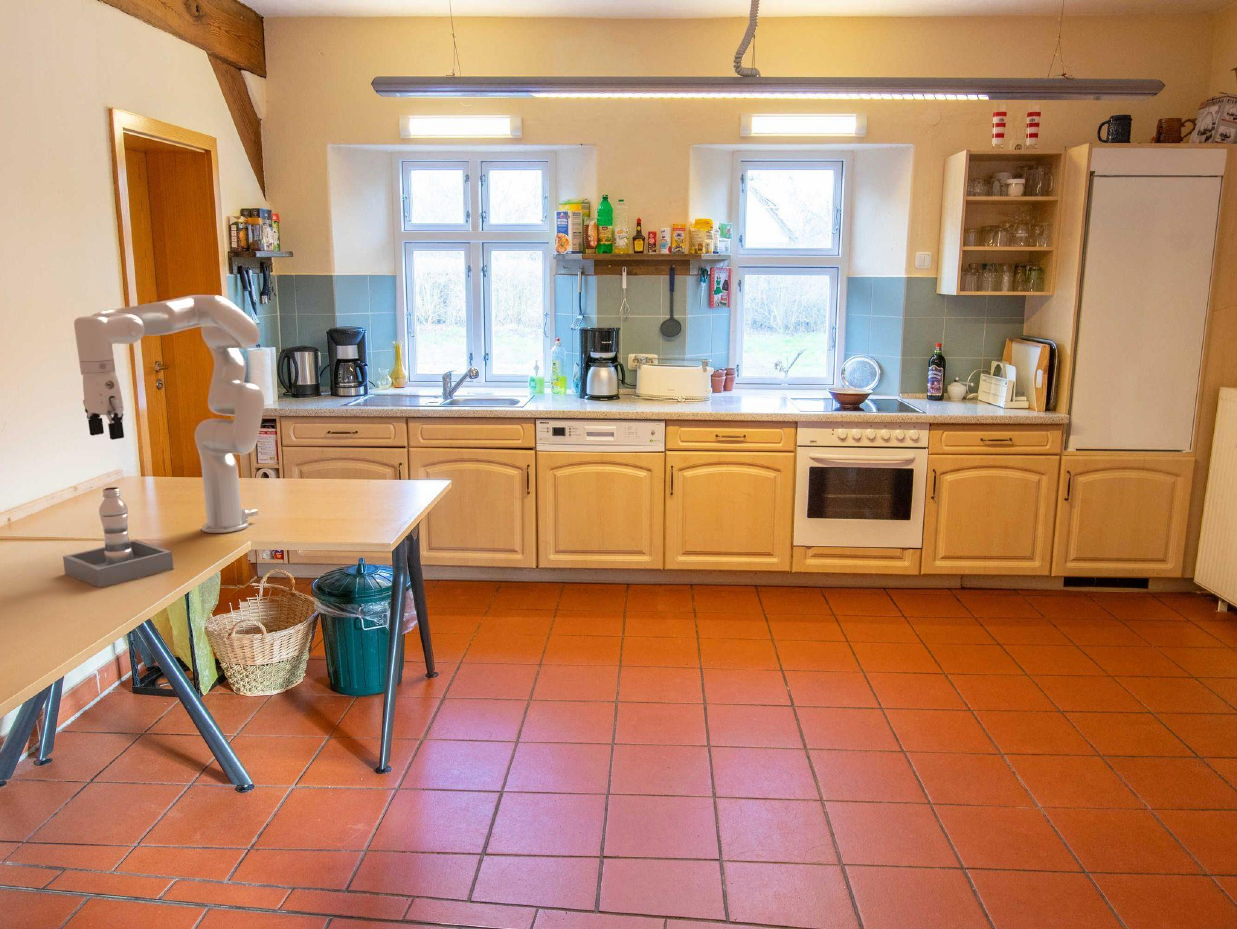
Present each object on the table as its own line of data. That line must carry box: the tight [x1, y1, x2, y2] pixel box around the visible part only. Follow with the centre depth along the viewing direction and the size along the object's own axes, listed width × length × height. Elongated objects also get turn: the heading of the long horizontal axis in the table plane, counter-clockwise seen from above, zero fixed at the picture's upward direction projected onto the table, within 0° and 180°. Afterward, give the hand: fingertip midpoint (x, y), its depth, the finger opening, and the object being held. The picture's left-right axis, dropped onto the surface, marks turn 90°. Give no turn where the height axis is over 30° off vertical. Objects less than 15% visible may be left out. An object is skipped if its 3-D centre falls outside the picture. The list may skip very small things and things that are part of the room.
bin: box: [62, 539, 175, 589], centre depth 241 cm, size 18×18×4 cm
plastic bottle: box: [98, 486, 133, 566], centre depth 239 cm, size 6×7×20 cm
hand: (107, 436), depth 241 cm, fingers open, 9 cm apart
